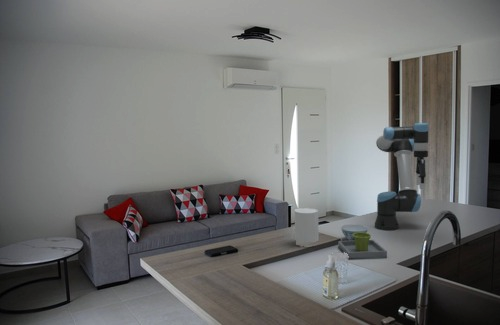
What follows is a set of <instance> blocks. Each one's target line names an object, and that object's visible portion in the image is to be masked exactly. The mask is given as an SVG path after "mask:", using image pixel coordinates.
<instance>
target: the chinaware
mask: <svg viewBox="0 0 500 325" xmlns="http://www.w3.org/2000/svg"><path fill="white" fill-rule="evenodd" d="M368 229H369V228H368V227H367V226H364V225H361V224H345V225H342V226H341V232H342V234H343V236H344V237H345V238H346V239H347V240H348V241H354V236H353V234H354V233H359V232H362V233H368Z"/></svg>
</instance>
